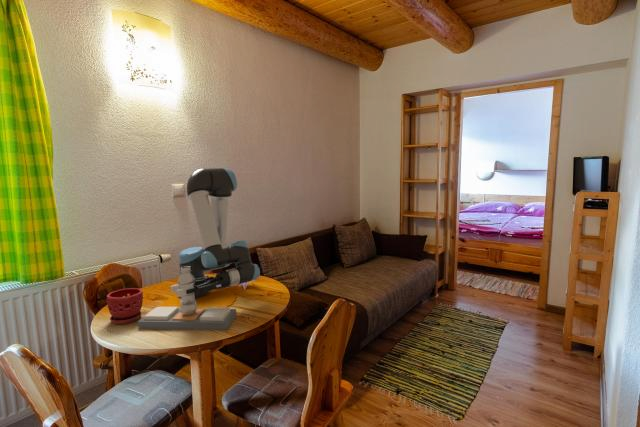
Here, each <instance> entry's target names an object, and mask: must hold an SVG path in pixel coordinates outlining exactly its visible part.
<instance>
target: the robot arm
mask: <svg viewBox="0 0 640 427" xmlns="http://www.w3.org/2000/svg"><path fill="white" fill-rule="evenodd" d="M237 187H238V180H237V176H236V175H235V172H234V171H233V170H232V169H230V168H225V167H224V168H223V167H219V168H217V167H215V168H212V167H211V168H206V167H204V168H198V169H196V170H194V171H193V173H192V174H190V177H189V178H188V180H187V183H186V195H187V198H188V199H189V200H190V201H191V203H192V204H191V205H192V207H193V212H194V214H195V215H194V216H195V219H196V223H197V226H198V229H199V234H200V236H201V241H202V245H203V247H202V246H194V247H193V246H192V247H188V248H185V249H183V250H181V251H180V252H179V255H178V263H179V266H178V267H179V276H180V275H181V274H182V273H181V267H184V266H190V270H191V271H190V273H191V274H192V275H193V276H194V278H195V282H194V286H192V287H187V288H183V289H179V285H178V283H177V284H174V285H170V293H176V297H177V298H179V299H181V296H184V295H188V294H192V293H194V296H195V299H198V298H202V297H205V296H206V295H208V294H209V293H210V291H211V292H212V291H214V290H221V289H226V288H229V287H235V286H237V285H240V284H241V283H246V282H248V283H251V282H250V281H252V282H254V281H255V280H257V279H259V278H260V276H261V270H260V267H259V265H258V264H256V263H253V262H252V258H251V254H250V249H249V246H248V242H247V241H246V240H243V239H242V240H238V241H234V242H232V243H230V244H229V243H228V241H227V233H228V215H229V214H228V213H229V199H230V198H231V197H232V196H233V192H235V191H236V190H237ZM209 197H210V199H209ZM232 264H234V265H235V267H234V268H233V267H232V268H230V269H225V270H220V271H218V272H217V273H216V274H215V276H210V275H205V272H209V271H214V270H218V269H224V268H226V267H228V266H230V265H232ZM253 280H254V281H253Z"/></svg>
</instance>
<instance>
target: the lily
mask: <svg viewBox="0 0 640 427" xmlns="http://www.w3.org/2000/svg"><path fill="white" fill-rule="evenodd" d="M254 281H255V280H253V281H250V282H246V283H241V284H238V285H239V286H238V287H240V288H241V286H242V287H243V289H244V290H246V289H247V286H248V285H249V283H251V284H252V285H254V283H253V282H254Z"/></svg>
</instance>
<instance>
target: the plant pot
mask: <svg viewBox="0 0 640 427" xmlns="http://www.w3.org/2000/svg"><path fill="white" fill-rule="evenodd" d="M143 292H144V291H143V290H142V289H141V288H137V287H131V288H128V287H127V288H121V289H117V290H114V291H112V292H109V293H108V294H107V295H106V302H107V303H106V304H107V308H108V312H109V314H110V318H109V320H110V322H111V323H113V324H115V325H123V324H129V323H132V322H134V321H136V320H138V319H139V318H140V317H141V316H142V314H143V313H142V311H141V309H142V306H143V301H144V300H143V299H144V295H143V294H144V293H143Z"/></svg>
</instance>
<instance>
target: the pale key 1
mask: <svg viewBox="0 0 640 427" xmlns="http://www.w3.org/2000/svg"><path fill="white" fill-rule="evenodd" d="M178 309H179V306H156V307H154V308H153V309H152V310H151V311H149V312H148V313H147V314H145V315H144V316H143V317H145V320H169V319H170V318H171V317H172V316H173V315H174V314H175V313H176V312H178Z"/></svg>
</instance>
